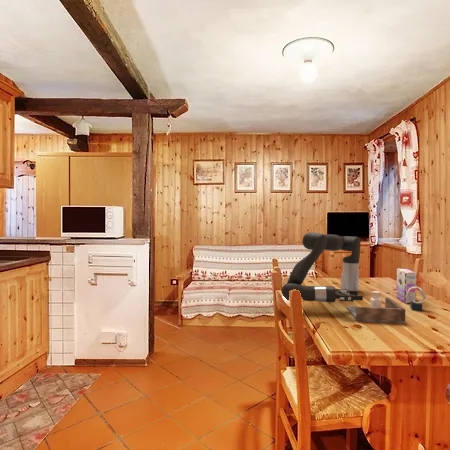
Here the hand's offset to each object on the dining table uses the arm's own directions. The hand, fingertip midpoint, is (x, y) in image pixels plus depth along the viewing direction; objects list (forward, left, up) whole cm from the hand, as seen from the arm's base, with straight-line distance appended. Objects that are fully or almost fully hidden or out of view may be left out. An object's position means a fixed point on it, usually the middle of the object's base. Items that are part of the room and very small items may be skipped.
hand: (360, 295), depth 149 cm
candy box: (+7, +43, -9) cm, 44 cm away
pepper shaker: (+5, +4, -8) cm, 10 cm away
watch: (+16, +29, -9) cm, 34 cm away
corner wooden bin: (+5, +3, -9) cm, 11 cm away
